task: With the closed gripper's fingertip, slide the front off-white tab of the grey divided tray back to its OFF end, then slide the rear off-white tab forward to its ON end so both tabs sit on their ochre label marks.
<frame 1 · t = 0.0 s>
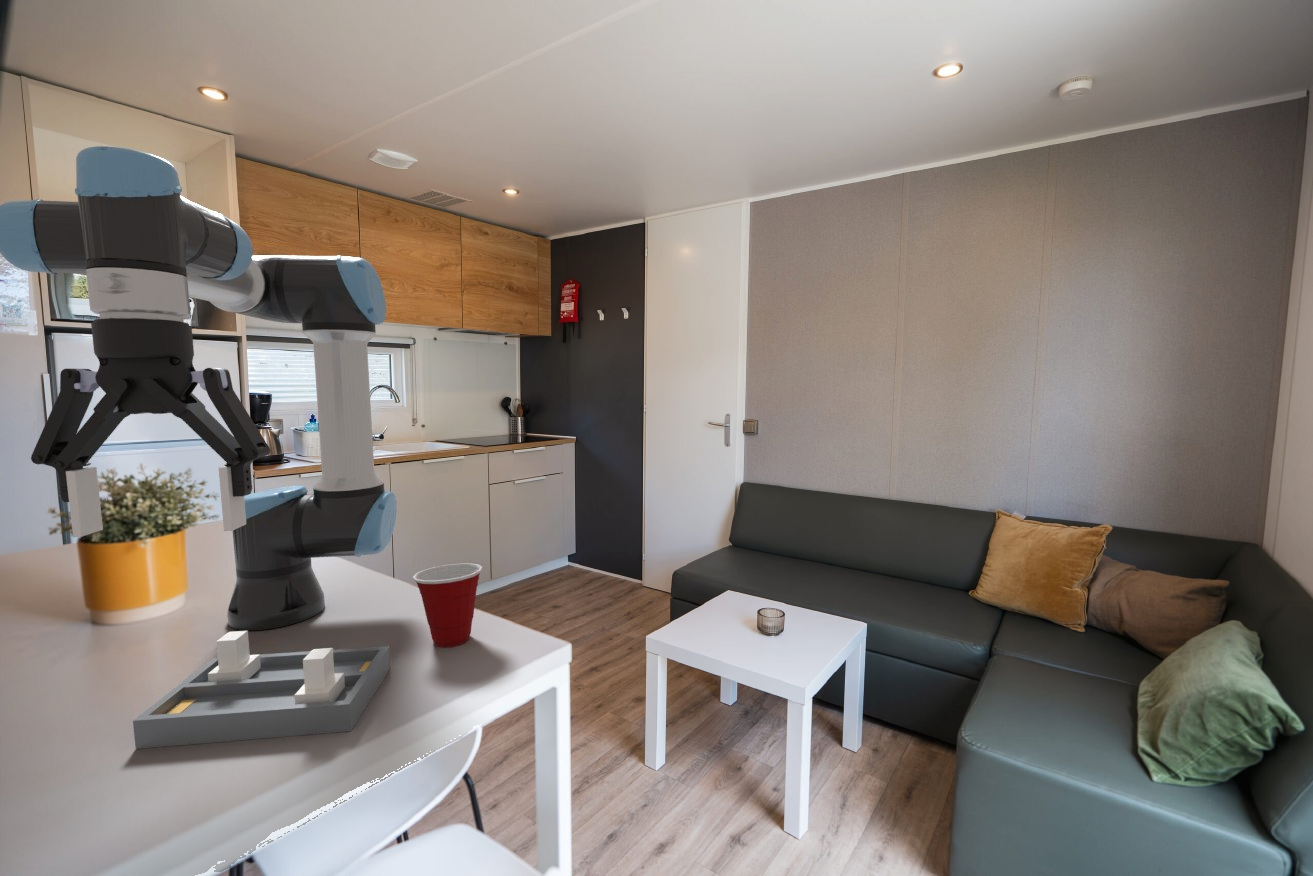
hand: (163, 530, 61), 28 cm above the table, fingers open, 13 cm apart
tab b: (319, 676, 77), point 5 cm above the table, slide at 14.0 cm
tab a: (234, 656, 82), point 5 cm above the table, slide at 0.0 cm
grey divided tray: (278, 703, 80), on the table
plastic cup: (451, 640, 99), on the table
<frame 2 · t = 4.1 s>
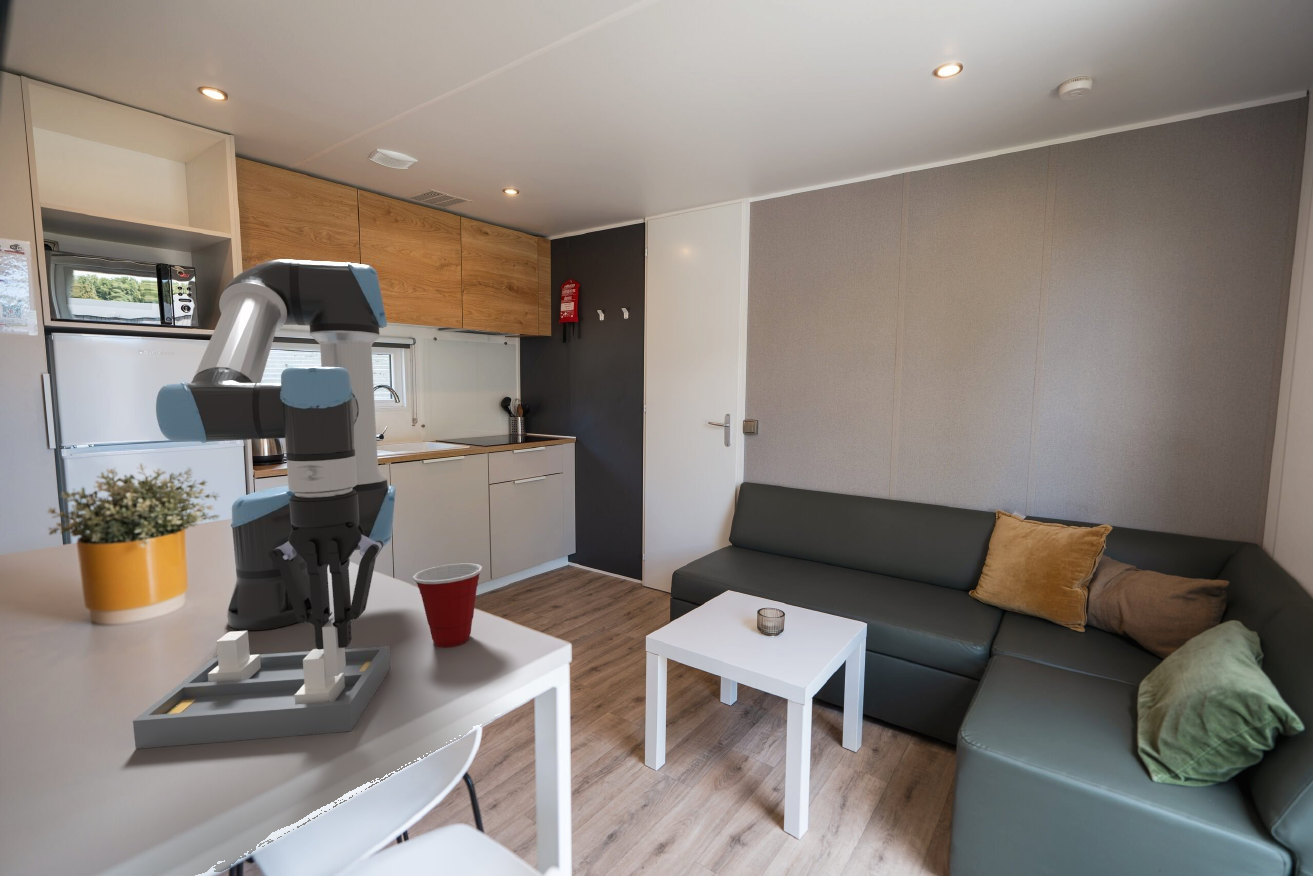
hand: (335, 671, 77), 6 cm above the table, fingers closed
tab b: (319, 676, 77), point 5 cm above the table, slide at 14.0 cm, touching gripper
everything else where it was.
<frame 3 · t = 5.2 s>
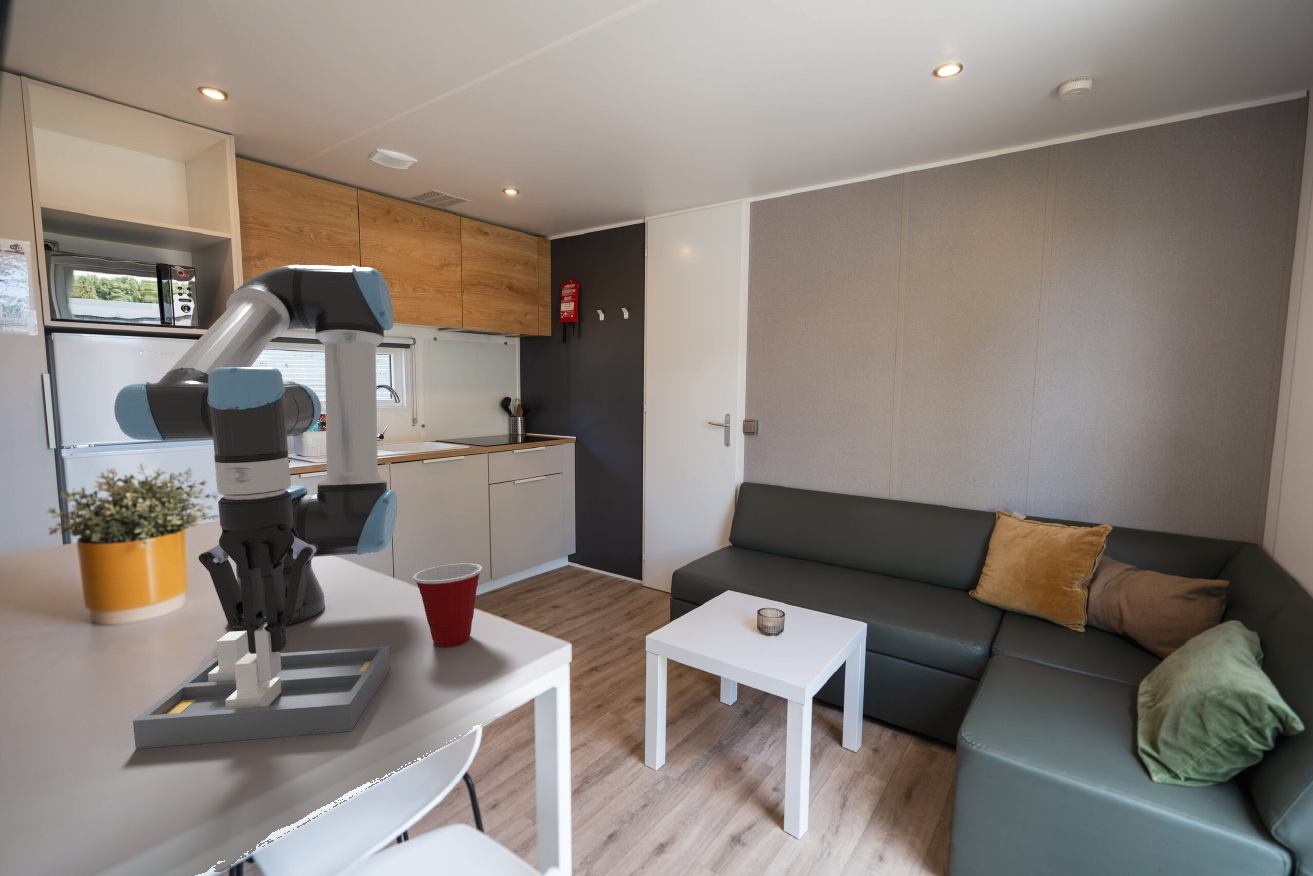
hand: (270, 675, 76), 6 cm above the table, fingers closed
tab b: (253, 680, 75), point 5 cm above the table, slide at 6.1 cm, touching gripper
everything else where it was.
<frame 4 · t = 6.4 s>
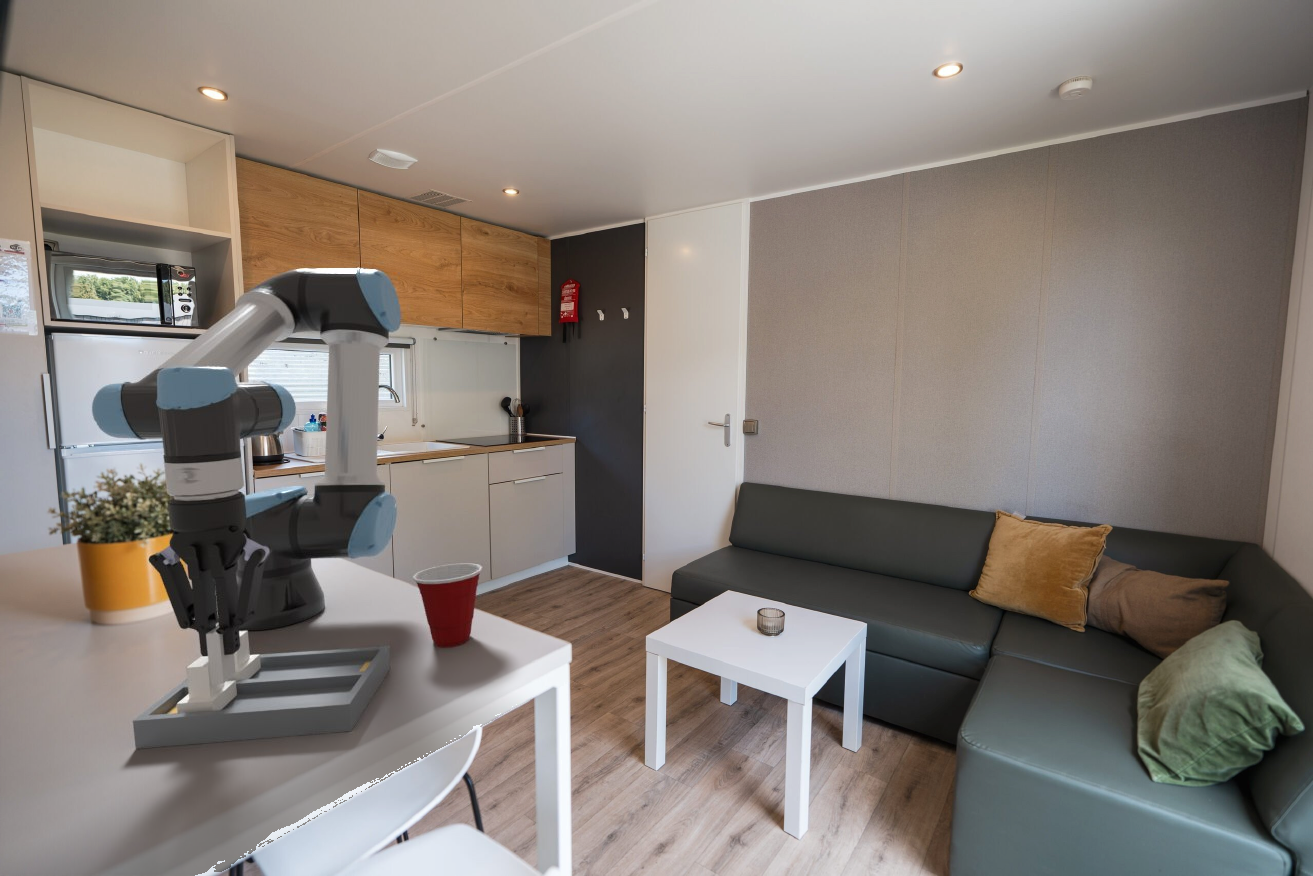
hand: (223, 678, 75), 6 cm above the table, fingers closed
tab b: (206, 684, 75), point 5 cm above the table, slide at 0.7 cm, touching gripper
everything else where it was.
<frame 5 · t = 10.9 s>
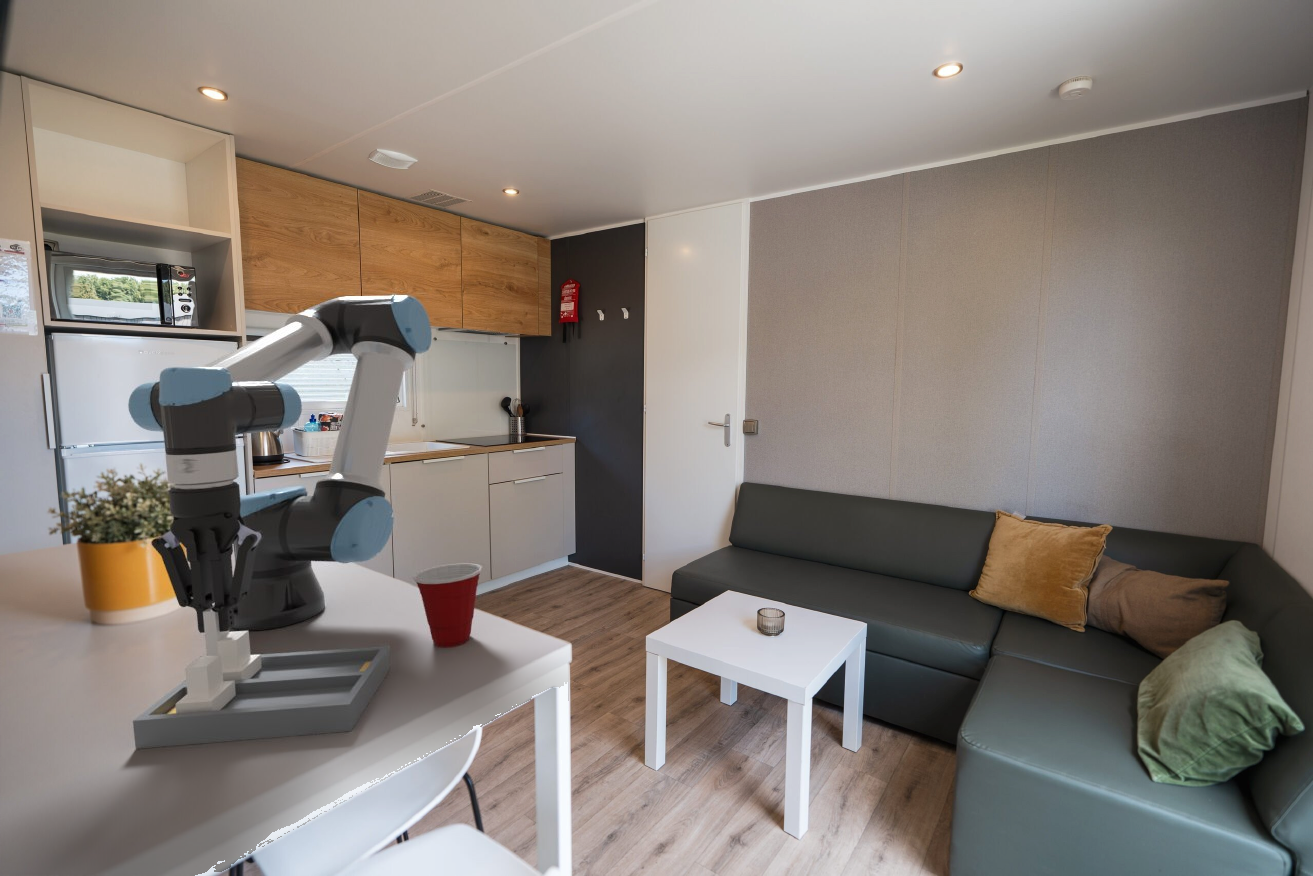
hand: (218, 653, 82), 6 cm above the table, fingers closed
tab b: (205, 684, 75), point 5 cm above the table, slide at 0.6 cm
tab a: (234, 656, 82), point 5 cm above the table, slide at 0.1 cm, touching gripper
everything else where it was.
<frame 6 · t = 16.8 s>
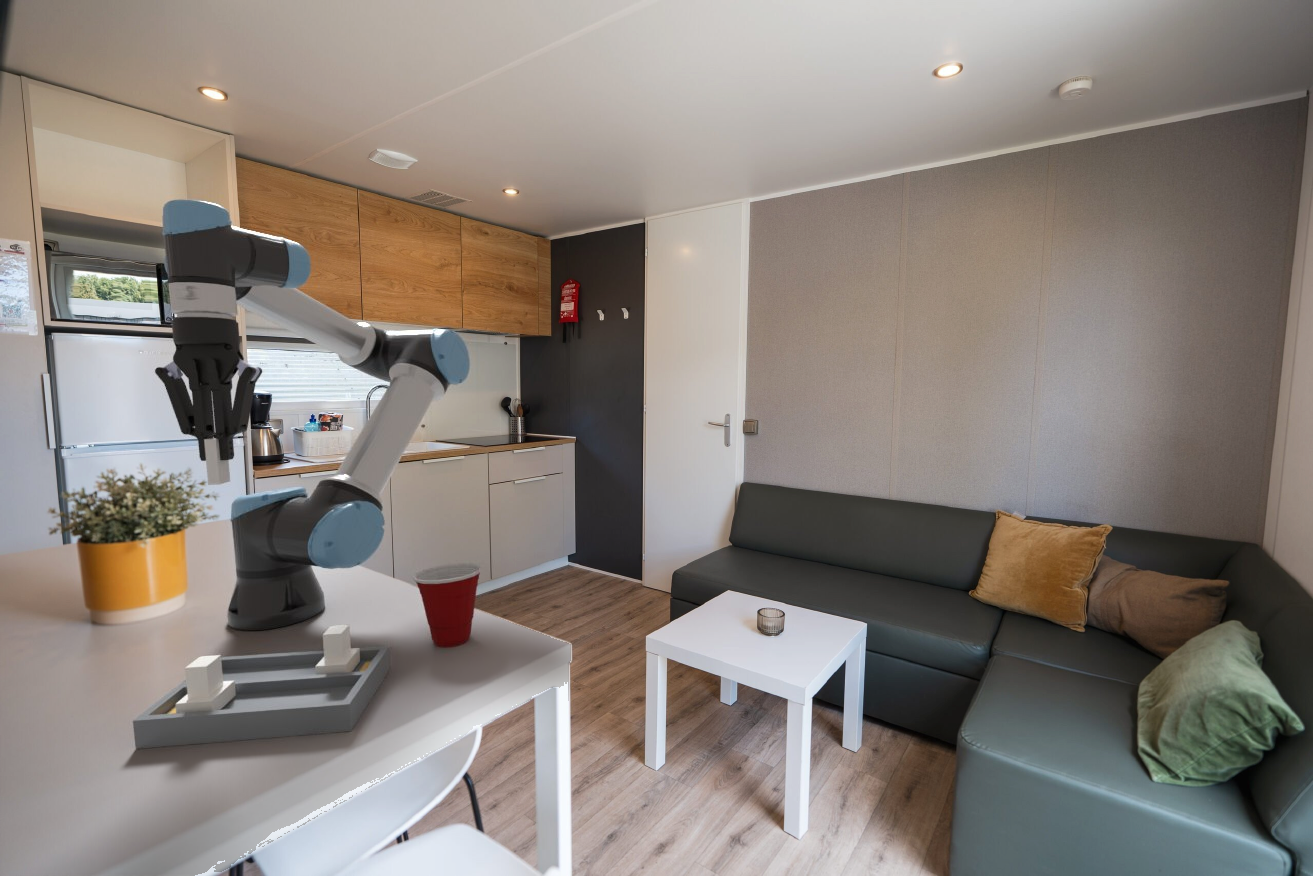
hand: (219, 482, 86), 28 cm above the table, fingers closed
tab a: (337, 650, 84), point 5 cm above the table, slide at 13.4 cm
everything else where it was.
at the end: tab a slide at 13.4 cm; tab b slide at 0.6 cm; plastic cup moved 0.2 cm from its start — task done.
